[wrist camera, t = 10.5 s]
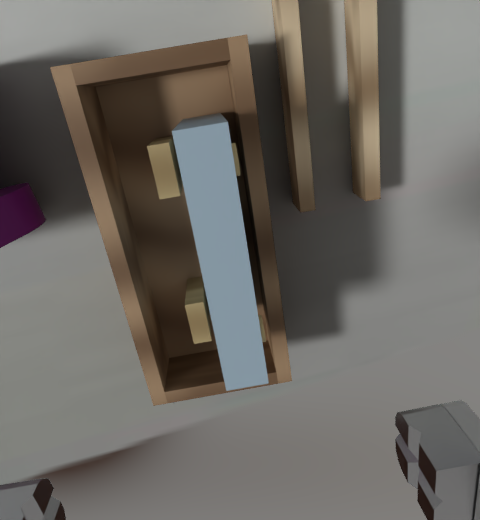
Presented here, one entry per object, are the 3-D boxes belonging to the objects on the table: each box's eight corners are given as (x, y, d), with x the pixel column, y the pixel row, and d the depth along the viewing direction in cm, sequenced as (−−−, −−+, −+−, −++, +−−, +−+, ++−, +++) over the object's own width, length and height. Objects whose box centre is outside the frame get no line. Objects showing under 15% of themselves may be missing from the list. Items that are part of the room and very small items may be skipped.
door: (182, 119, 25) (171, 131, 17) (225, 112, 25) (234, 120, 17) (220, 310, 31) (226, 390, 22) (255, 304, 31) (274, 382, 22)
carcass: (79, 72, 25) (50, 67, 20) (239, 45, 25) (247, 34, 20) (160, 362, 33) (153, 405, 29) (279, 341, 33) (291, 380, 29)
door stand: (266, -49, 23) (273, -64, 21) (358, -63, 23) (375, -81, 21) (293, 203, 29) (300, 212, 27) (366, 190, 29) (380, 198, 27)
